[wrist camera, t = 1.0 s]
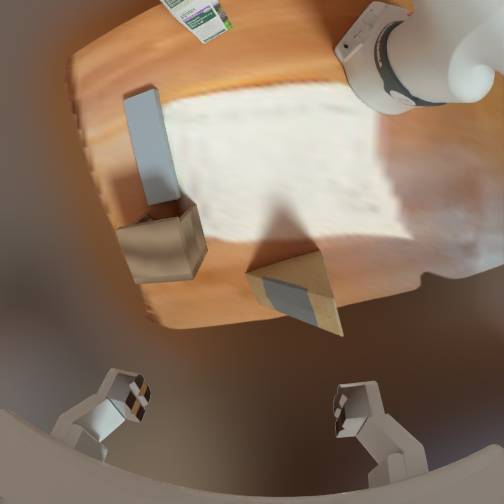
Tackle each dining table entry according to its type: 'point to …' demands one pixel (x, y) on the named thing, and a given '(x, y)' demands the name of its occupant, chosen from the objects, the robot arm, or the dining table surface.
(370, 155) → the dining table surface
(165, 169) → the panel
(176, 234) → the open wooden box
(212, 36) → the syrup box
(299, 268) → the sandwich container
